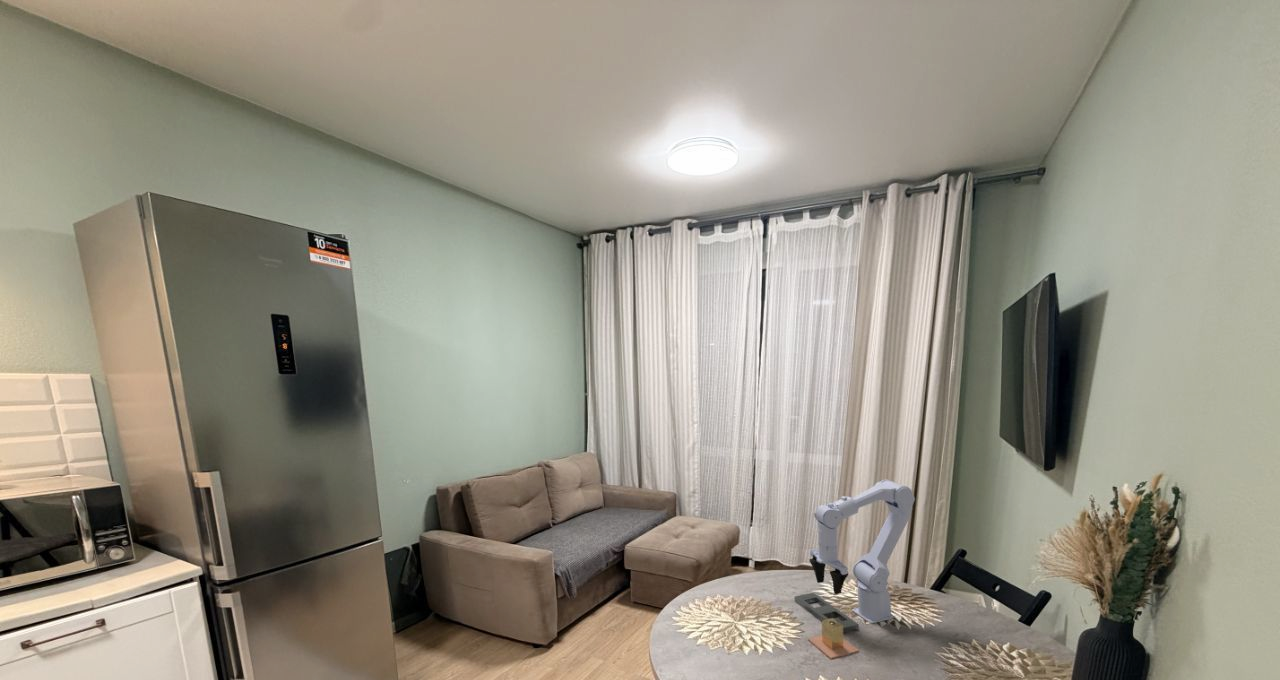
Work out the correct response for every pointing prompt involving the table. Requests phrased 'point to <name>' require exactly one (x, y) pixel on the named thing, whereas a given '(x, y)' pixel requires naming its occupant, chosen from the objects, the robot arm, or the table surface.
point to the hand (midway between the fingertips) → (828, 587)
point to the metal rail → (825, 611)
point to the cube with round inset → (832, 633)
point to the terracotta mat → (836, 652)
